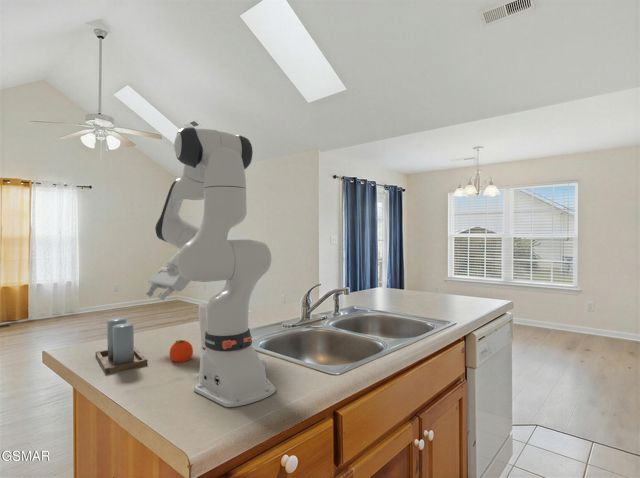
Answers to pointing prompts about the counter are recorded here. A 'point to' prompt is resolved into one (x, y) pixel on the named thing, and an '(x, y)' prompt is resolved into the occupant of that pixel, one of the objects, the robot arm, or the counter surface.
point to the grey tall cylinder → (123, 344)
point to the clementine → (181, 351)
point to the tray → (110, 368)
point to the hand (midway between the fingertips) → (153, 297)
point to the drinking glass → (203, 323)
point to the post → (110, 333)
